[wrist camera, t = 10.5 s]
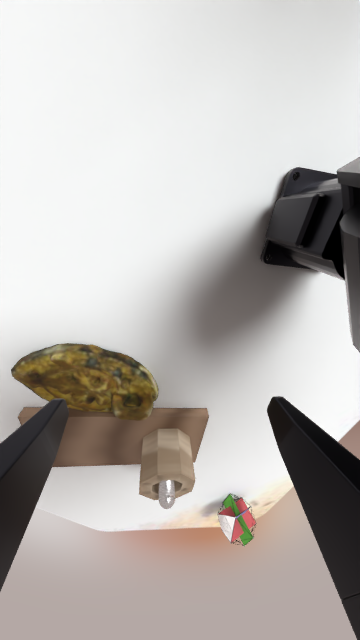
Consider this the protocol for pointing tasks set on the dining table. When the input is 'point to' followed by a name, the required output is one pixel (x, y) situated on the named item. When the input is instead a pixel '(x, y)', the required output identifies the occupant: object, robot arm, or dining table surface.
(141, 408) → the olive gold carved ornament
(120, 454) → the board
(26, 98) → the dining table surface
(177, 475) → the beech bead
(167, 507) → the steel post
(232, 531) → the geometric puzzle
